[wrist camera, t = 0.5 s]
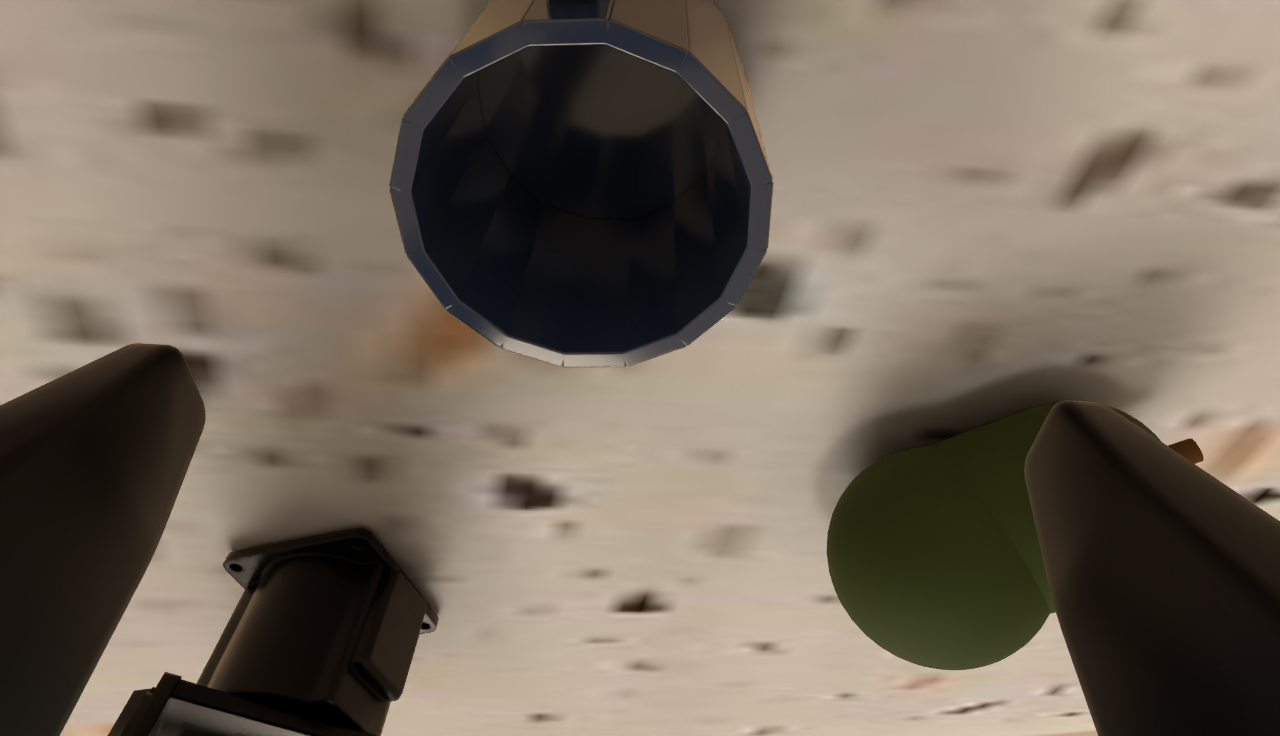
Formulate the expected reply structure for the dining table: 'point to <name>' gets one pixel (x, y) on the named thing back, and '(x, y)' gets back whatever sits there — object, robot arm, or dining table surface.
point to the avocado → (949, 546)
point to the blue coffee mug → (586, 178)
